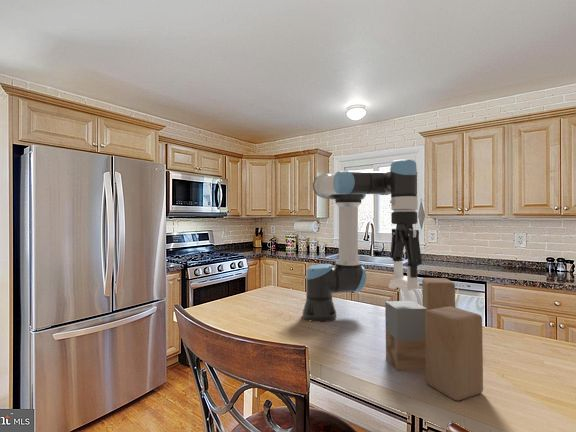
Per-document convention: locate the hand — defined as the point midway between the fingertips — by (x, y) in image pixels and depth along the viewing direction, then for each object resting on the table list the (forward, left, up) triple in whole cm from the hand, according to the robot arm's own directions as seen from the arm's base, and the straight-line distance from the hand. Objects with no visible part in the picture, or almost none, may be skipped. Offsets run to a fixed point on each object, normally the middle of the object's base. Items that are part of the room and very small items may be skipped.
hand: (405, 284), depth 99 cm
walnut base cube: (0, 0, -24) cm, 24 cm away
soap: (0, 0, -1) cm, 1 cm away
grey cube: (0, 0, -15) cm, 15 cm away
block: (+15, +6, -24) cm, 29 cm away
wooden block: (-26, +25, -24) cm, 44 cm away
